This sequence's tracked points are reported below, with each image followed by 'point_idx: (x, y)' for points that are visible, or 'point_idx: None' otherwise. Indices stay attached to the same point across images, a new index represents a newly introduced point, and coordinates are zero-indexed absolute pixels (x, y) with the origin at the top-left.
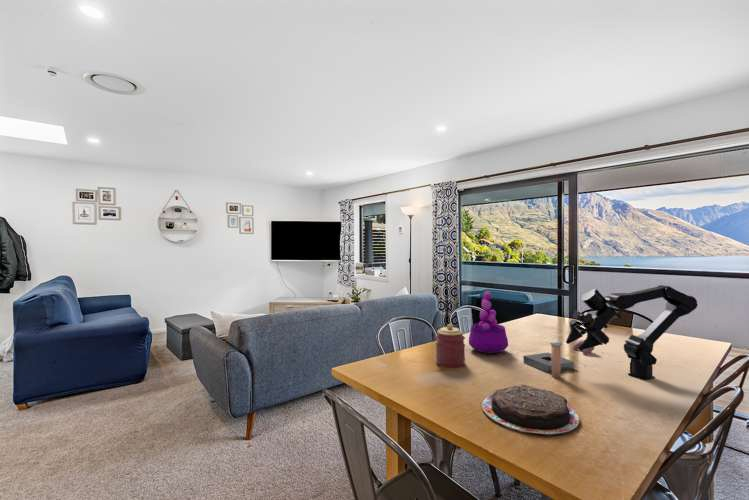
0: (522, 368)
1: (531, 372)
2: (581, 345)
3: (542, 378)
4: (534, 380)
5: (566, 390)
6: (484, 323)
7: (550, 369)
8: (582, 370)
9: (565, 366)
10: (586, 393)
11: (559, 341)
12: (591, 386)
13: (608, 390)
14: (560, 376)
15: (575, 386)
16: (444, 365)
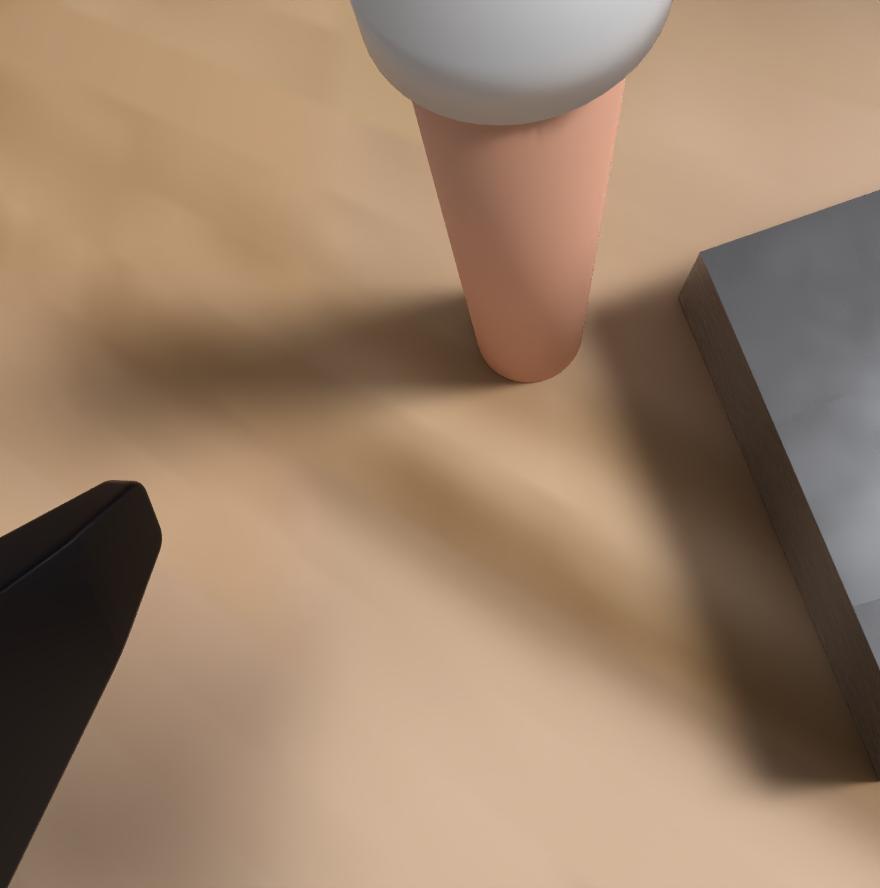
0: (860, 43)
1: (699, 102)
2: (3, 543)
3: None
4: None
5: (140, 256)
6: None
7: (702, 318)
8: (805, 878)
9: (827, 602)
10: (45, 417)
11: (561, 43)
12: (205, 593)
13: None
14: (494, 366)
15: (225, 406)
16: None
